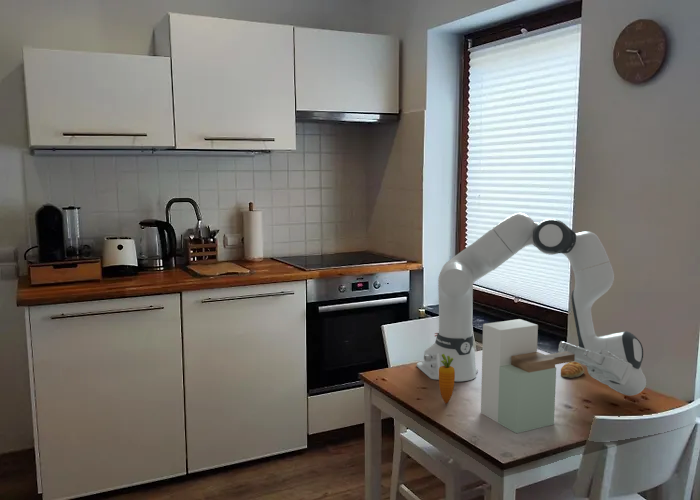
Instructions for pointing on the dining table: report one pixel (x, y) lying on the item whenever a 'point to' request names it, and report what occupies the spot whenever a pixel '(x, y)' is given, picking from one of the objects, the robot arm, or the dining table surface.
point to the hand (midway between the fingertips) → (573, 348)
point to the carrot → (446, 379)
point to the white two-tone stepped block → (515, 378)
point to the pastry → (572, 370)
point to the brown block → (540, 360)
